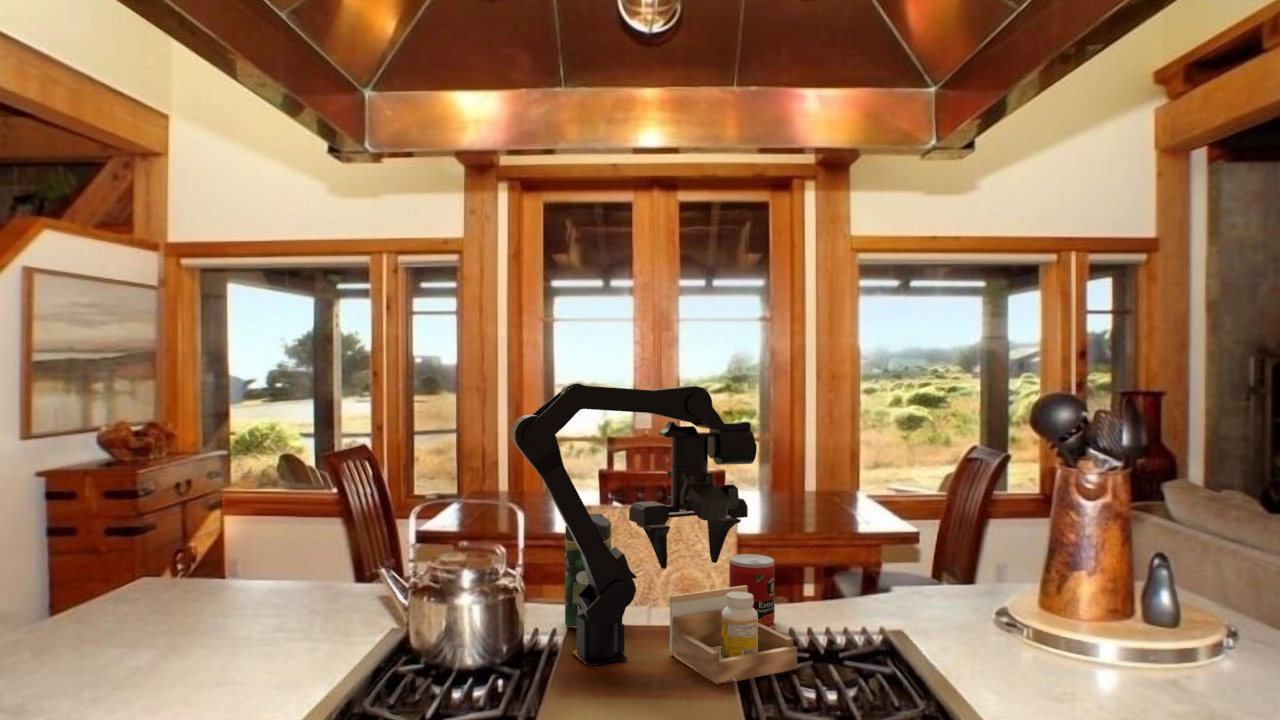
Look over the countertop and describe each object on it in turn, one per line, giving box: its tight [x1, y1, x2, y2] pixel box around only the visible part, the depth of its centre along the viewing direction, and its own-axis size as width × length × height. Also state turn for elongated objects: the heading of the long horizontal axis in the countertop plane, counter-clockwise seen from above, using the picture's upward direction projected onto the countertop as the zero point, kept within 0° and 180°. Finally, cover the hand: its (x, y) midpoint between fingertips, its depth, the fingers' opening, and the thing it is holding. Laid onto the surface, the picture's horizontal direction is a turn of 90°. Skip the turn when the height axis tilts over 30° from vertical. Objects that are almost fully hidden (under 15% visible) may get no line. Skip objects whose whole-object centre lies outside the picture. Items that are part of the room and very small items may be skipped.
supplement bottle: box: [721, 591, 758, 659], centre depth 112 cm, size 5×5×10 cm
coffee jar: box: [564, 513, 612, 628], centre depth 131 cm, size 10×8×19 cm
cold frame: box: [673, 607, 798, 683], centre depth 113 cm, size 14×12×6 cm
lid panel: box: [669, 585, 748, 652], centre depth 119 cm, size 14×1×9 cm, turn 117°
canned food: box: [728, 553, 776, 628], centre depth 133 cm, size 8×8×11 cm
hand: (689, 565), depth 119 cm, fingers open, 9 cm apart
